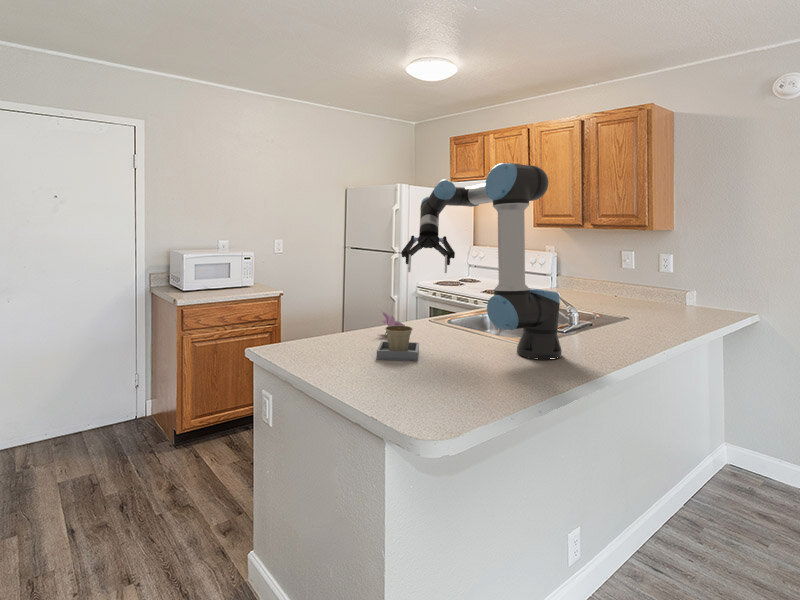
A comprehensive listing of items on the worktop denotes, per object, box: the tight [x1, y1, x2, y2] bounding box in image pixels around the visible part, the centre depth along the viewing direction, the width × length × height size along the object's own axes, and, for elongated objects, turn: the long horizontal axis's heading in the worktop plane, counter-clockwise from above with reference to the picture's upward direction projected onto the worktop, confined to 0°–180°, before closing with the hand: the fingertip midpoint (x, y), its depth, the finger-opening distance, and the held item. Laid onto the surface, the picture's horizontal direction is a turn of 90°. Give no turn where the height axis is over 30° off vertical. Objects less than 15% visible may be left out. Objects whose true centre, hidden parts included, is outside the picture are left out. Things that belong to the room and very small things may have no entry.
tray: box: [376, 340, 420, 362], centre depth 173 cm, size 14×14×3 cm
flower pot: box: [384, 325, 414, 351], centre depth 173 cm, size 9×9×9 cm
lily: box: [380, 310, 406, 338], centre depth 203 cm, size 12×12×10 cm
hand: (427, 270), depth 187 cm, fingers open, 13 cm apart
